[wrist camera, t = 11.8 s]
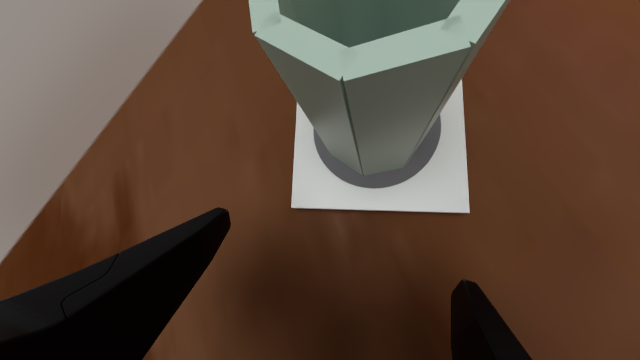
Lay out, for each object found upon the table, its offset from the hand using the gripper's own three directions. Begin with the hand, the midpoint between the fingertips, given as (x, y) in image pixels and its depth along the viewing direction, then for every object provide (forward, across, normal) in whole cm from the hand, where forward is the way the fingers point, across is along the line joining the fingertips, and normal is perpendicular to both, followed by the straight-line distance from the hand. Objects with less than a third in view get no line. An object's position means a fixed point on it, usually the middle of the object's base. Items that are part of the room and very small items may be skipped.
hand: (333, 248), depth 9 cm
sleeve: (+11, 0, -1) cm, 11 cm away
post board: (+12, 0, 0) cm, 12 cm away
